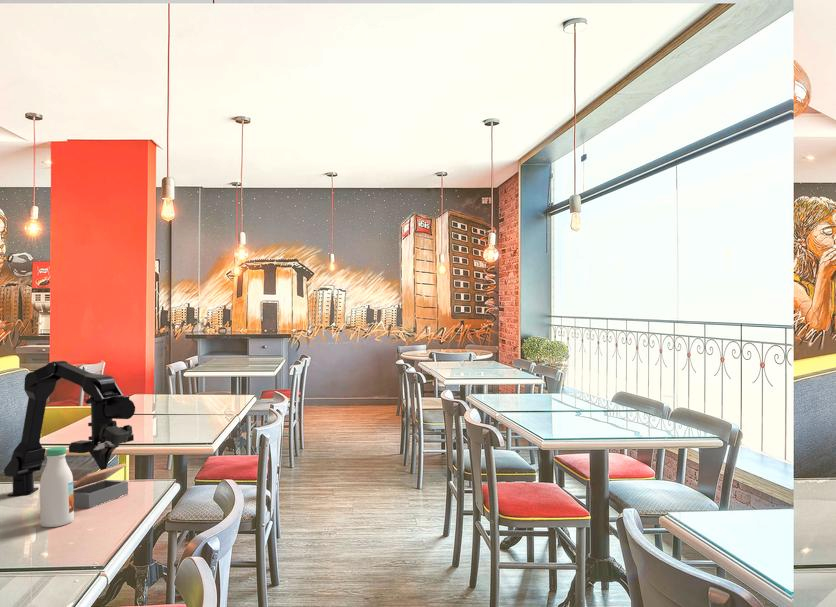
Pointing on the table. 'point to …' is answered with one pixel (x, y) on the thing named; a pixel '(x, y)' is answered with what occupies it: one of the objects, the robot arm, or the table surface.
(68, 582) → the table surface
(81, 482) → the duct cover
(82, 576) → the table surface
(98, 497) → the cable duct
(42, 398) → the robot arm
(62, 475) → the milk bottle
